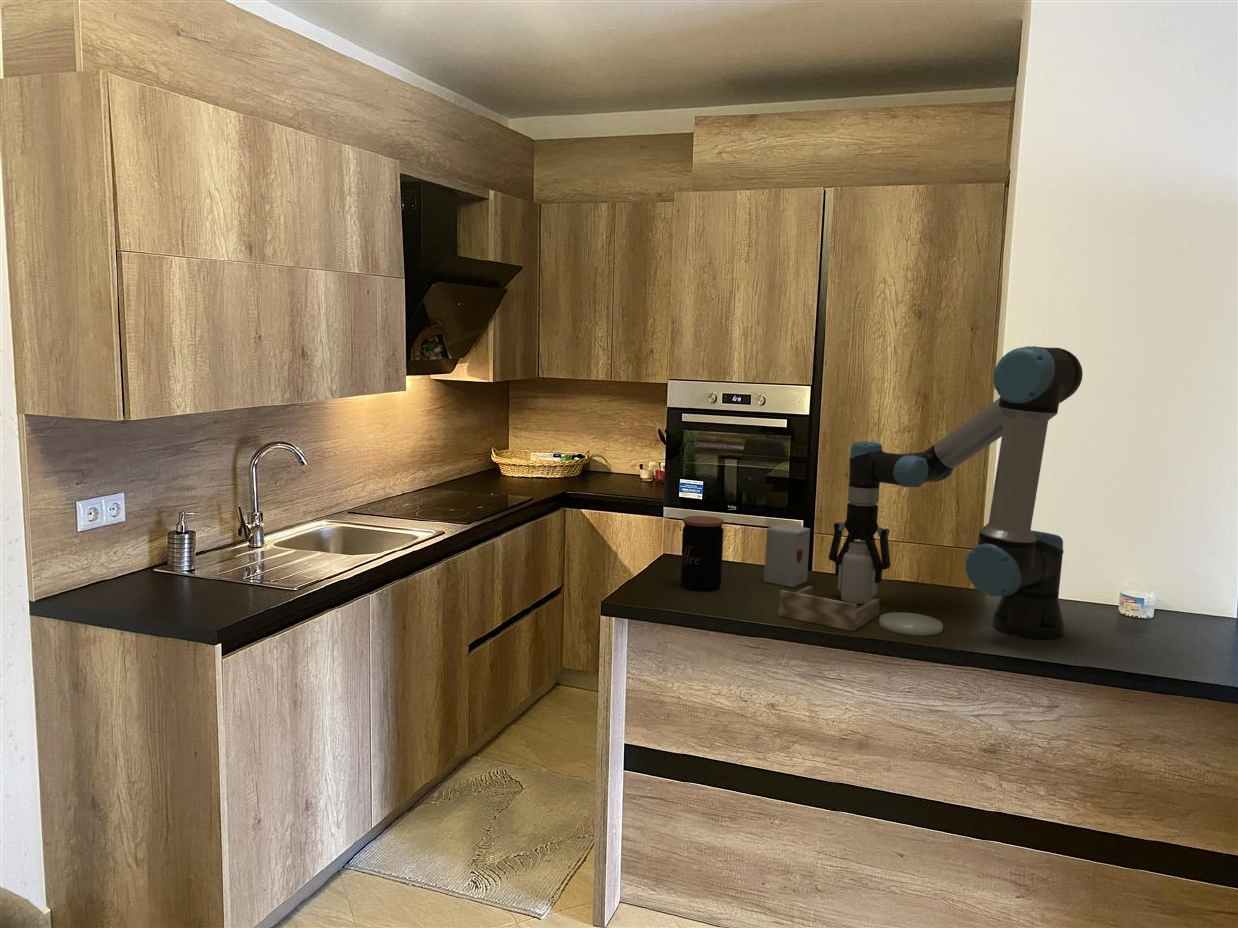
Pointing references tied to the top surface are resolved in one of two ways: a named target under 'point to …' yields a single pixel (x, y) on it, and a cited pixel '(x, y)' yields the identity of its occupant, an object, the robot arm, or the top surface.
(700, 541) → the coffee jar
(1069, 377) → the robot arm
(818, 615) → the oak stall
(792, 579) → the supplement box
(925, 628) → the sage coaster
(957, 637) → the top surface
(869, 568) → the pill bottle
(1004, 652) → the top surface
